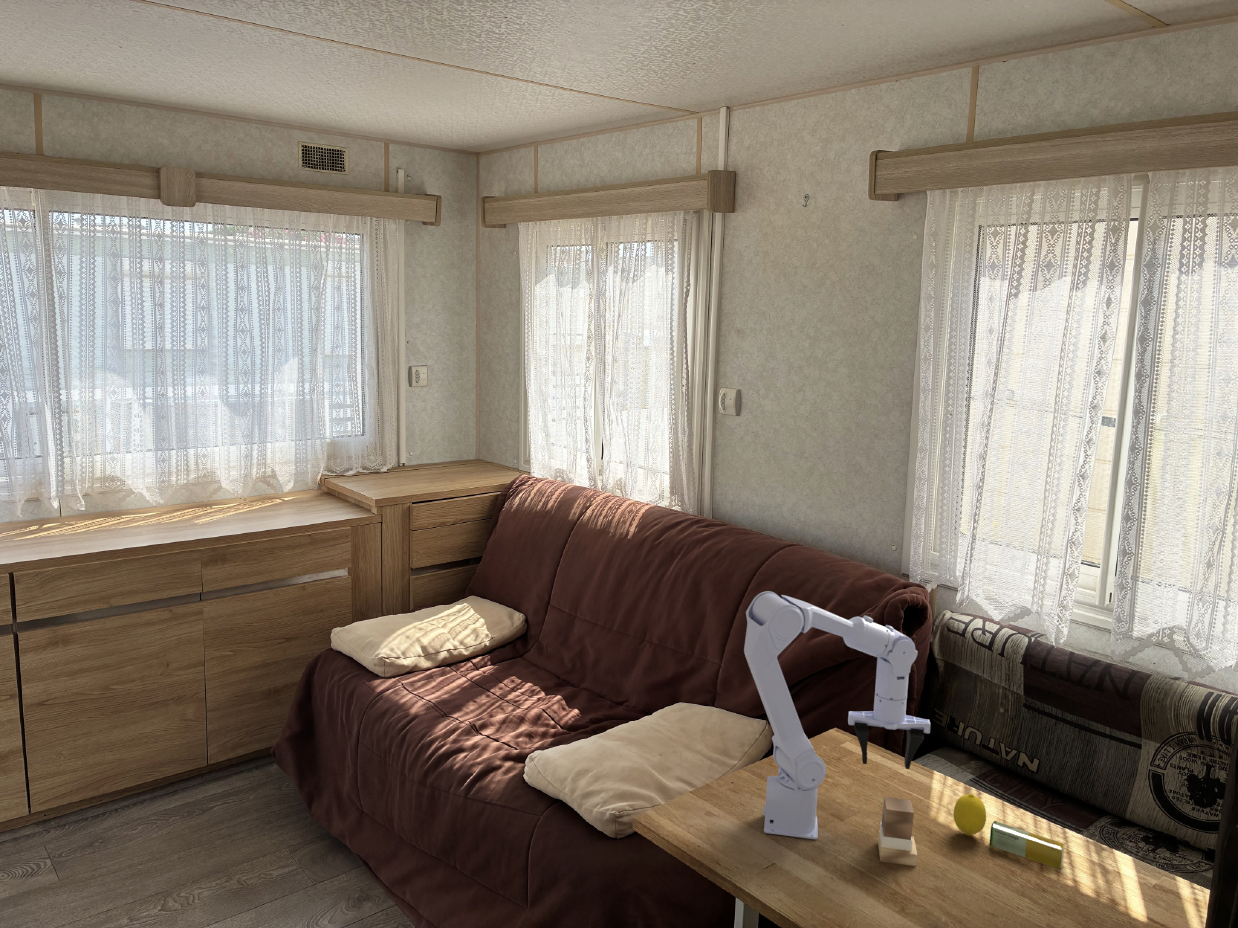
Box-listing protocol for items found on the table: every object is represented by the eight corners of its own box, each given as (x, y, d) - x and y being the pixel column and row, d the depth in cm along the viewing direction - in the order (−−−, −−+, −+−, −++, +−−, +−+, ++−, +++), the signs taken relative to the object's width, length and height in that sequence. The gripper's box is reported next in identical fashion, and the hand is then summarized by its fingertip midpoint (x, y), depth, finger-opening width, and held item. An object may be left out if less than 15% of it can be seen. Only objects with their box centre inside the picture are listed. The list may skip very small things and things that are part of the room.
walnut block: (884, 836, 160) (886, 808, 159) (881, 822, 164) (884, 796, 163) (911, 839, 159) (913, 812, 158) (907, 826, 163) (910, 800, 162)
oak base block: (880, 863, 159) (881, 849, 159) (877, 844, 165) (878, 831, 165) (916, 868, 158) (917, 854, 158) (912, 849, 164) (913, 836, 164)
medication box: (987, 846, 166) (989, 825, 165) (992, 839, 168) (993, 819, 167) (1060, 871, 159) (1062, 849, 158) (1064, 863, 161) (1066, 842, 160)
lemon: (986, 845, 166) (990, 803, 164) (954, 840, 167) (957, 799, 166) (981, 829, 171) (984, 788, 170) (949, 825, 172) (953, 784, 171)
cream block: (881, 846, 160) (882, 836, 160) (879, 832, 165) (880, 821, 165) (911, 851, 159) (912, 840, 159) (908, 836, 164) (909, 825, 163)
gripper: (851, 698, 169) (846, 768, 171) (934, 706, 166) (928, 778, 168) (849, 684, 176) (845, 752, 177) (929, 692, 173) (923, 761, 175)
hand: (885, 764), depth 173 cm, fingers open, 7 cm apart
